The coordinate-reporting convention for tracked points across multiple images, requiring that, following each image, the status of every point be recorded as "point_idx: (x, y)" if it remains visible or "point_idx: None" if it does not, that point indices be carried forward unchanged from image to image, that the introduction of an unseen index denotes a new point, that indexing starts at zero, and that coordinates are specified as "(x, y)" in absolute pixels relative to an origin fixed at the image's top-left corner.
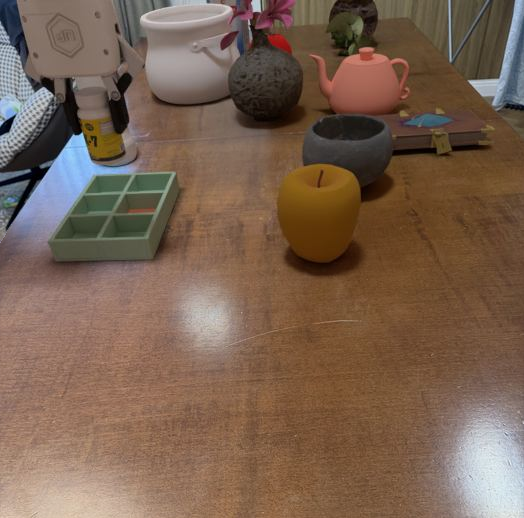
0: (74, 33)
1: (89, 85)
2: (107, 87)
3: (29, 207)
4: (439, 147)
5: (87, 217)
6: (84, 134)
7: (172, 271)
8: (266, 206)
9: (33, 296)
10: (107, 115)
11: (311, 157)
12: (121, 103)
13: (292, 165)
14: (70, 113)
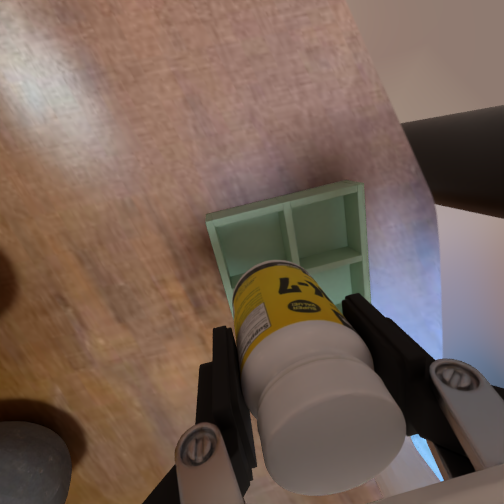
0: None
1: None
2: (229, 478)
3: (440, 294)
4: None
5: (333, 261)
6: (324, 297)
7: (161, 191)
8: (109, 369)
9: (339, 88)
10: (247, 361)
11: (15, 464)
12: (196, 423)
13: (125, 461)
14: (386, 332)
